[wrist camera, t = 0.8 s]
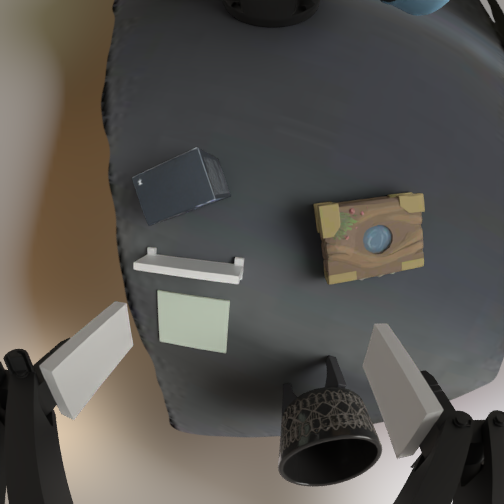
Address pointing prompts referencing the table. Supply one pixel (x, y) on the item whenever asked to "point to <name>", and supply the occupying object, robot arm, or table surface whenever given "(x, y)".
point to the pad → (193, 321)
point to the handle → (191, 267)
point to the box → (180, 185)
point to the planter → (326, 434)
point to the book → (370, 236)
